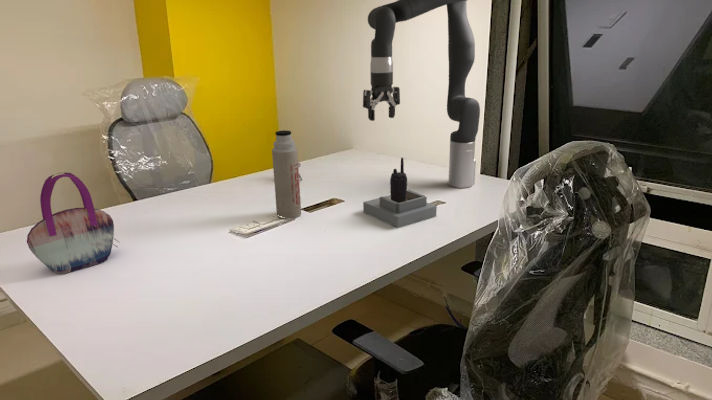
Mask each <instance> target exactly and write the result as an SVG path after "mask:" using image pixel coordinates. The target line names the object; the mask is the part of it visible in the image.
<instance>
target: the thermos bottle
mask: <svg viewBox="0 0 712 400" xmlns="http://www.w3.org/2000/svg"><path fill="white" fill-rule="evenodd" d="M274 135H275V139H276V140H275V141H274V142H273V145H272V146H273V148H272V149H271V152H272V153H271V155H272V169H273V181H274V182H273V183H274V193H275V194H274V195H275V207H276V208H275V209H276V216H277V215H279V216H282V217H285V218H292V219H291V220H293V219H297V218H300V217H301V215H302V207H301V189H300V178H299V174H300V172H299V167H298V162H299V154H298V148H297V147H296V142H295V140H293V138H292V131H291V130H286V129H285V130H284V129H283V130H278V131H275V134H274Z"/></svg>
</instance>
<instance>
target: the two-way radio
mask: <svg viewBox="0 0 712 400" xmlns="http://www.w3.org/2000/svg"><path fill="white" fill-rule="evenodd" d="M404 162H405V161H404V157H401V158H400V172H399V171H398V170H397V168H394V169H393V172H392V173H391V175H390V179H389V186H390V191H389V193H390V195H391V200H393V201H395V202H398V203H400V202H404V201H406V196H407V190H408V189H407V186H408V176H407V174H406V173H405V172H404V170H405V169H404V165H405V163H404Z"/></svg>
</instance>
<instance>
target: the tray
mask: <svg viewBox="0 0 712 400" xmlns="http://www.w3.org/2000/svg"><path fill="white" fill-rule="evenodd" d="M427 198H428V197H427V196H426V195H424V194H423V193H419V192H416V191H413V190H411V189H407V196H406V201H404V202H400V203H398V202H395V201H393V200H391V194H390V195H389V194H388V195H386V196H379V197H377V198H374V199H370V200H366V201H363V205H362V206H363V207H362V208H363V213H365V214H367V215H369V214H370V215H369V216H371V215H372V217H373V216H374V218H376V219H378V220H380V221H382V222H384V223H387V224H389V225H391V226H393V227H394V228H395V227H396V228H397V229H399V228H402V227H406V226H409V225H411V224H412V225H413V224H416V223H419V222H422V221H425V220H428V219H431V218H436V217H437V207H438V206H437V205H434V204H432V203H429V202H427V200H428V199H427Z"/></svg>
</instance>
